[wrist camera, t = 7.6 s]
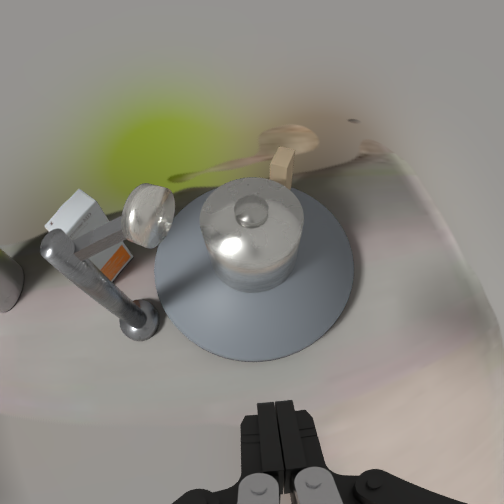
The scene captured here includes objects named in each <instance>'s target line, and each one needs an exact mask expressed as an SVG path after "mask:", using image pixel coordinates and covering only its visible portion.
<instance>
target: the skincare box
mask: <svg viewBox="0 0 504 504" xmlns="http://www.w3.org/2000/svg"><path fill="white" fill-rule="evenodd" d="M108 222H110V221H109V220H108V218H107V217H106V215H105V214H104V212H103V211H102V209H101V207H100V206H99V204H98V203H97V201H96V200H94V199H93V198H92V197H90V196H89V195H88V194H86V193H85V192H84V191H82V190H81V189H78V190H77V191H76V192H75V193H74V194H73V195H72V196H71V198H70V199H68V200H67V201H66V202H65V203H64V204H63V205H62V206H61V207H60V208H59V209H58V211H57V212H56V213H55V215H54V216H53V217H52V218H51V219H50V220H49V221H48V223H47V224H46V225H45V228H46V229H47V230H48V231H49V232H50V231H51V230H53V229H57V228H59V229H62V230H63V231H64V232H65V233H66V235H67V236H68V237H69V238H70V239H71V240H72V241H73V240H75V239H76V238H78V237H80V236H82V235H84V234H86V233H88V232H90V231H92V230H94V229H96V228H98V227H100V226H102V225H104V224H106V223H108ZM132 258H133V255H132V254H131V252H130V251H129V250H128V248H127V247H126V245H125V244H124V242H123V241H122V242H120V243H118V244H116V245H113V246H111V247H109V248H107V249H105V250H103V251H101V252H99V253H97V254H95V255H93V256H91V257H89V259H90V260H91V261H92V262H93V264H94V265H95V266H96V267H97V268H98V269H99V270H100V271H101V272H102V273H103V274H104V275H105V276H106V277H107V278H108V279H109V280H110V281H113V280H114V279H115V278H116V276H117V275H118V274H119V273H120V271H121V270H122V269H123V268H124V267H125V266H126V265H127V263H128V262H129V261H130V260H131V259H132Z"/></svg>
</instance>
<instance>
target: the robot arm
mask: <svg viewBox="0 0 504 504" xmlns="http://www.w3.org/2000/svg"><path fill="white" fill-rule="evenodd" d="M23 280H24V275H23V270H22V268H21V266H20V265H19V264H18V263H17V262H15V261H14V260H13V259H12V258H11V257H10V256H9V255H7V254H6V253H5V252H4V251H3V250H2V249H1V248H0V312H6V311H8V310H10V309H11V308H12V307H13V306H14V304H15V303H16V301H17V300H18V298H19V296H20V293H21V290H22V287H23ZM257 410H258V415H248V416H245V417H244V419H243V421H242V423H241V472H242V473H241V477H240V479H239V481H238V482H237V483H236V484H235V485H234V486H232V487H230V488H228V489H225V490H221V491H217V492H213V493H212V492H210V491H208V490H205V489H194V490H190V491H188V492H186V493H185V494H184V495H183V496H181V497H180V498H179V499H178V500H176V501H175V502H173V503H172V504H280V494H283V487H284V494H287V493H290V495H291V502H292V504H467V503H463V502H460V501H457V500H454V499H451V498H448V497H445V496H442V495H440V494H437V493H434V492H432V491H429V490H426V489H424V488H421V487H419V486H417V485H414V484H412V483H409V482H407V481H405V480H403V479H400V478H398V477H396V476H394V475H392V474H389V473H387V472H385V471H383V470H379V469H371V470H368V471H365V472H363V473H362V474H361V475H360V476H348V475H339V474H336V473H334V472H332V471H331V470H329V469H328V467H327V466H326V464H325V461H324V457H323V454H322V450H321V446H320V443H319V439H318V437H317V432H316V429H315V425H314V421H313V418H312V417H311V415H310V414H309V413H308V412H307V411H306V410H300V411H295V410H294V405H293V401H292V400H287V401H277V402H275V406H274V402H267V403H257Z"/></svg>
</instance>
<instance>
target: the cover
mask: <svg viewBox="0 0 504 504" xmlns="http://www.w3.org/2000/svg"><path fill="white" fill-rule="evenodd" d="M303 224H304V214H303V209H302V206H301V204H300V202H299V200H298V199H297V197H296V196H295V195H294V194H293V193H292V192H291V191H290V190H289V189H288V188H286V187H285V186H283V185H282V184H280V183H278V182H275V181H272V180H269V179H264V178H256V177H249V178H241V179H236V180H233V181H230V182H228V183H225V184H224V185H222V186H220V187H219V188H217V189H216V190H215V191H214V192H212V193H211V194H210V196H209V197H208V198H207V199H206V201H205V202H204V204H203V206H202V209H201V212H200V228H201V232H202V235H203V238H204V241H205V245H206V248H207V251H208V254H209V257H210V260H211V263H212V266H213V269H214V271H215V273H216V275H217V276H218V277H219V279H220V280H221V281H222V282H223V283H224V284H226V285H227V286H229V287H230V288H232V289H235V290H237V291H240V292H245V293H261V292H265V291H269V290H271V289H274V288H275V287H277V286H279V285H280V284H282V283H283V282H284V281H285V280H286V279H287V278H288V276H289V275H290V274H291V272H292V270H293V268H294V265H295V261H296V256H297V252H298V247H299V243H300V238H301V233H302V229H303Z"/></svg>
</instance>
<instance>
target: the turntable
mask: <svg viewBox="0 0 504 504" xmlns="http://www.w3.org/2000/svg"><path fill="white" fill-rule="evenodd" d="M294 156H295V150H294V149H290V148H286V147H282V146H279V148H278V150H277V151H276V153H275V155H274V157H273V159H272V161H271V163H270V180H272V181H275V182H278V183H280V184H282V185H283V186H285V187H286V188H288V189H289V190H290V191H291V192H292V193H293V194H294V195H295V196H296V197H297V199H298V200H299V202H300V204H301V206H302V209H303V214H304V224H303V229H302V233H301V238H300V243H299V247H298V252H297V256H296V261H295V265H294V268H293V270H292V272H291V274H290V275H289V276H288V278H287V279H286V280H285V281H284V282H283V283H282V284H280V285H279V286H277V287H275V288H274V289H271V290H269V291H265V292H261V293H245V292H240V291H237V290H235V289H232V288H230V287H229V286H227V285H226V284H224V283H223V282H222V281H221V280H220V279H219V277H218V276H217V275H216V273H215V271H214V269H213V266H212V263H211V260H210V257H209V254H208V251H207V248H206V245H205V241H204V238H203V235H202V232H201V228H200V212H201V209H202V206H203V204H204V202H205V201H206V199H207V198H208V197H209V196H210V194H211V193H212V192H214V191H215V190H216V189H217V188H216V189H213V190H211V191H208V192H206V193H205V194H203V195H201V196H199V197H197V198H196V199H195V200H193V201H192V202H190V203H189V204H188V205H187V206H185V207H184V208H183V209H182V210H181V211H180V212H179V213H178V214H177V215H176V216H175V217H174V219H173V222H172V225H171V227H170V230H169V232H168V234H167V235H166V237H165V239H164V240H163V241H162V242H161V243H160V244H159V246H158V249H157V254H156V258H155V269H154V273H155V284H156V289H157V293H158V296H159V299H160V302H161V304H162V306H163V308H164V310H165V312H166V313H167V315H168V317H169V318H170V320H171V321H172V322H173V323H174V325H175V326H176V327H177V328H178V329H179V330H180V331H181V332H182V333H183V334H184V335H185V336H186V337H187V338H188V339H189V340H191V341H192V342H193V343H195V344H196V345H198V346H199V347H201V348H202V349H204V350H206V351H208V352H210V353H212V354H215V355H218V356H221V357H224V358H227V359H231V360H237V361H244V362H262V361H271V360H276V359H280V358H284V357H287V356H290V355H292V354H295V353H297V352H299V351H301V350H303V349H305V348H306V347H308V346H310V345H311V344H313V343H314V342H315V341H317V340H318V339H319V338H320V337H322V336H323V335H324V334H325V332H326V331H327V330H328V329H329V328H330V327H331V326H332V325H333V324H334V323H335V321H336V320H337V318H338V317H339V316H340V314H341V313H342V311H343V309H344V307H345V305H346V303H347V301H348V298H349V295H350V292H351V289H352V284H353V277H354V262H353V255H352V250H351V247H350V243H349V241H348V238H347V236H346V234H345V232H344V230H343V228H342V227H341V225H340V223H339V222H338V221H337V219H336V218H335V217H334V216H333V214H332V213H331V212H330V211H329V210H328V209H327V208H326V207H324V206H323V205H322V204H321V203H319V202H318V201H317V200H316V199H314V198H312V197H311V196H309V195H307V194H306V193H304V192H301V191H299V190H297V189H295V188H292V187H291V183H292V175H293V166H294ZM218 188H219V187H218Z"/></svg>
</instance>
